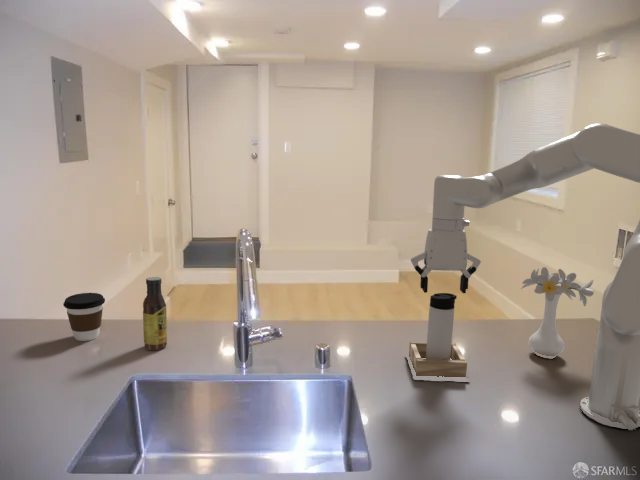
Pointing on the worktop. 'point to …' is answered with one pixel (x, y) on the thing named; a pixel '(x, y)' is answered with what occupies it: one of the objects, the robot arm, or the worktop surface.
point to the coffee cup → (85, 315)
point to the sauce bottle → (154, 316)
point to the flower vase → (553, 307)
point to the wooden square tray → (437, 362)
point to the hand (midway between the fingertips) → (443, 291)
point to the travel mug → (440, 326)
